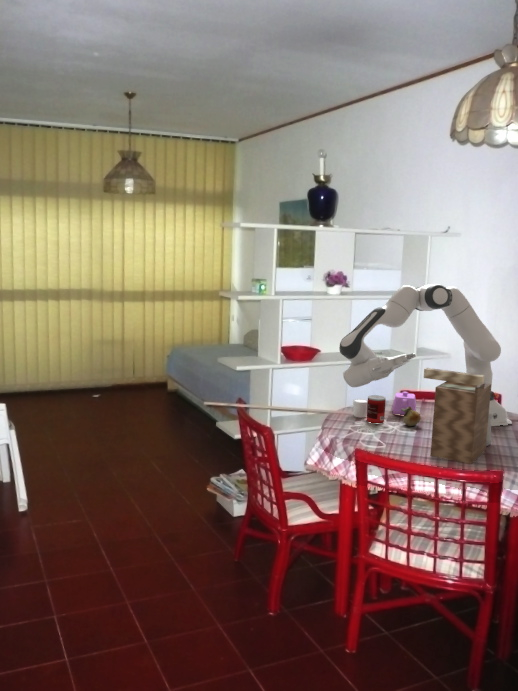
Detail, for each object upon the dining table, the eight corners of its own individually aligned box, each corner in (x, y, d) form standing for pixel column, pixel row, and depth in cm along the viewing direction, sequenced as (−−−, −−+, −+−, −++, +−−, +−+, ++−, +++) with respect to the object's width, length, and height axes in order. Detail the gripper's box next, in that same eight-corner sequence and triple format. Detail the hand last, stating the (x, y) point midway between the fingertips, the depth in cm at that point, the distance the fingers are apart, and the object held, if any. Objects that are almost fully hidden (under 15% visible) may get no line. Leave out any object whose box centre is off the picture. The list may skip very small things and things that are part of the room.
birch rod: (423, 377, 261) (424, 369, 261) (426, 376, 264) (427, 367, 264) (481, 386, 250) (482, 376, 249) (483, 384, 253) (484, 375, 252)
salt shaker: (473, 442, 268) (476, 410, 266) (487, 442, 269) (490, 410, 267) (479, 446, 263) (482, 414, 261) (494, 446, 263) (496, 414, 261)
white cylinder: (363, 418, 298) (364, 403, 297) (349, 416, 302) (350, 400, 300) (370, 415, 304) (370, 400, 303) (356, 413, 307) (356, 398, 306)
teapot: (392, 407, 319) (394, 386, 318) (415, 409, 317) (417, 388, 315) (391, 417, 302) (392, 395, 300) (415, 419, 300) (417, 397, 298)
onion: (404, 428, 285) (406, 409, 284) (399, 422, 293) (401, 405, 292) (422, 428, 286) (423, 410, 284) (416, 423, 294) (418, 405, 292)
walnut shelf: (430, 455, 250) (436, 381, 245) (446, 442, 266) (452, 373, 262) (471, 464, 242) (477, 387, 237) (485, 450, 258) (491, 378, 254)
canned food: (383, 419, 297) (384, 395, 295) (384, 424, 289) (386, 399, 287) (365, 418, 298) (367, 394, 296) (366, 423, 290) (368, 398, 288)
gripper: (367, 363, 264) (398, 351, 256) (386, 357, 281) (416, 346, 274) (373, 378, 263) (404, 367, 256) (392, 371, 280) (422, 360, 273)
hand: (410, 356), depth 265 cm, fingers open, 8 cm apart
